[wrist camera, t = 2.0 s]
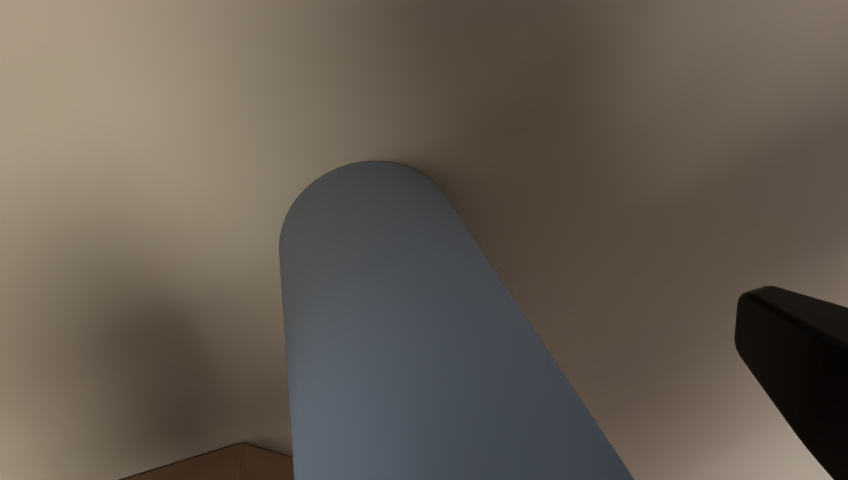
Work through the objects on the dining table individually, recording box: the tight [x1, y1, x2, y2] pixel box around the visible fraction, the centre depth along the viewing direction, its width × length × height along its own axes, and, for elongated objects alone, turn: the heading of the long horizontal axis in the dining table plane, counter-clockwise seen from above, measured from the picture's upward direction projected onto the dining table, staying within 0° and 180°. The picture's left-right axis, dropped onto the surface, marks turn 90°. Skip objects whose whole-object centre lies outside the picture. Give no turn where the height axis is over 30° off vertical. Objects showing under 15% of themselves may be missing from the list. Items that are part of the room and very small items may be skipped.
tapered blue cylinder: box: [279, 161, 634, 480], centre depth 9 cm, size 4×4×9 cm
